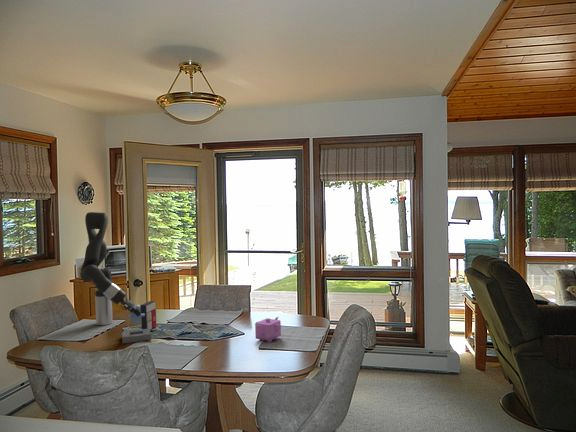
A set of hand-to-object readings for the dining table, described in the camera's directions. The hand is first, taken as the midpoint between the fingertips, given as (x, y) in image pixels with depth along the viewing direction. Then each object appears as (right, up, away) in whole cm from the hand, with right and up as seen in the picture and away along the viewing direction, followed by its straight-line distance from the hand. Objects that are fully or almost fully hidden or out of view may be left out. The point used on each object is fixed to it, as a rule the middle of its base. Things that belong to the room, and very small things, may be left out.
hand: (139, 314), depth 238 cm
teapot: (+69, -12, -8) cm, 71 cm away
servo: (-2, -4, -1) cm, 5 cm away
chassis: (-1, -13, 0) cm, 13 cm away
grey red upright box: (0, -13, +17) cm, 21 cm away
